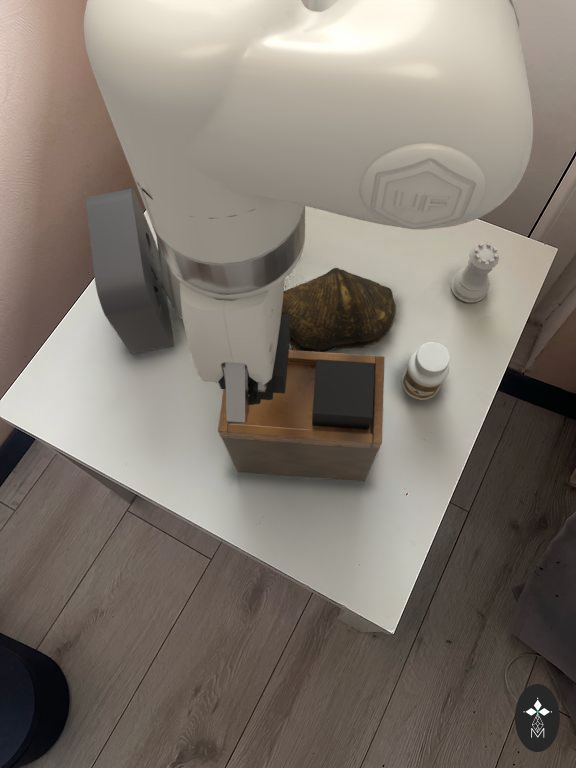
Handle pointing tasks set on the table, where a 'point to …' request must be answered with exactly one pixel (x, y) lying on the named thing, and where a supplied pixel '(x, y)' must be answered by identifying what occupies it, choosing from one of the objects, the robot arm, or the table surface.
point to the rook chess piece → (475, 274)
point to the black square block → (343, 394)
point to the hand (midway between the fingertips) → (256, 359)
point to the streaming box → (128, 271)
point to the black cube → (277, 358)
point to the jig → (304, 428)
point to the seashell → (337, 312)
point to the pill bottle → (426, 371)
